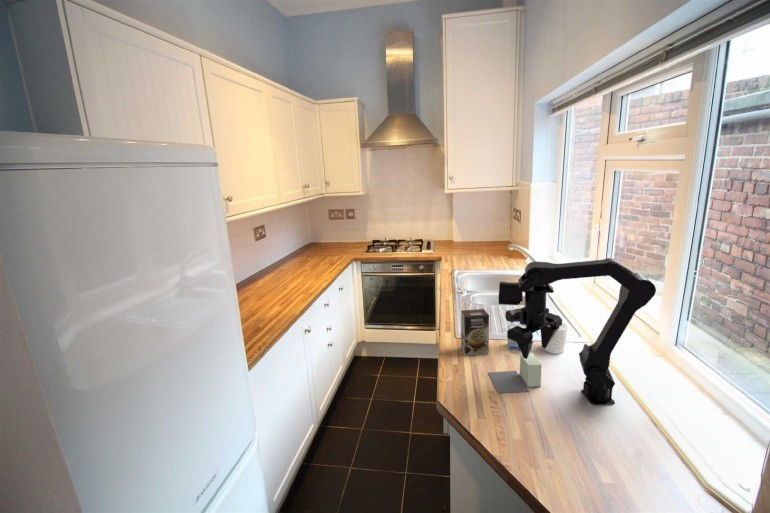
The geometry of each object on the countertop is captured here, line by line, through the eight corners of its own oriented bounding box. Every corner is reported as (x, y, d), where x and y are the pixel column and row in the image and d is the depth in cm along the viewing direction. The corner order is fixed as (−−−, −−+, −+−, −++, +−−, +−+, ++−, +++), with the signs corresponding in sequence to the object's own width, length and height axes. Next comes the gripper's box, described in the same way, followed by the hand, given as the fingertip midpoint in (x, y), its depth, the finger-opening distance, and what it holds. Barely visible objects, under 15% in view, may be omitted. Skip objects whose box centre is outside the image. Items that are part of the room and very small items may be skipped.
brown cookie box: (465, 356, 130) (464, 317, 126) (460, 348, 136) (460, 309, 132) (489, 354, 130) (489, 314, 126) (484, 346, 137) (484, 307, 132)
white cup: (543, 342, 136) (544, 319, 133) (566, 346, 132) (568, 322, 129) (540, 352, 130) (542, 327, 127) (564, 357, 126) (566, 331, 123)
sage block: (531, 374, 117) (532, 352, 115) (540, 387, 110) (541, 364, 108) (519, 375, 117) (520, 353, 115) (527, 387, 110) (528, 365, 108)
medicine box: (508, 349, 133) (508, 329, 131) (507, 344, 137) (507, 323, 135) (530, 351, 131) (531, 330, 129) (528, 345, 135) (529, 324, 133)
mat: (516, 371, 119) (516, 370, 119) (528, 391, 108) (528, 390, 108) (488, 373, 119) (488, 372, 119) (498, 393, 109) (498, 392, 109)
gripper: (531, 290, 114) (530, 334, 118) (491, 306, 105) (492, 353, 108) (563, 299, 105) (562, 346, 109) (524, 317, 95) (523, 368, 99)
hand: (534, 352), depth 106 cm, fingers open, 9 cm apart
